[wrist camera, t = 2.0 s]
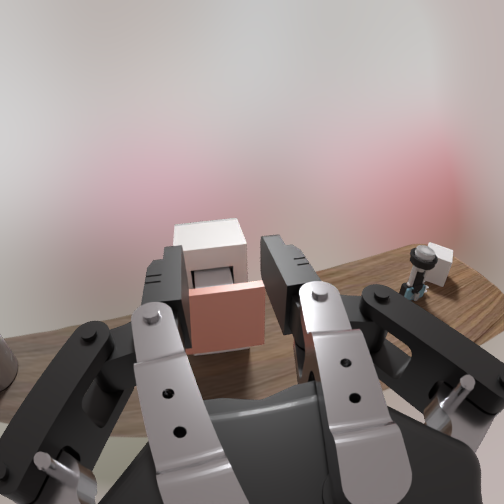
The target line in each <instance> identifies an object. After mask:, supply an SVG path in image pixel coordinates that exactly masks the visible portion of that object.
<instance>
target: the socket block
mask: <svg viewBox="0 0 504 504" xmlns="http://www.w3.org/2000/svg"><path fill="white" fill-rule="evenodd" d="M178 245H182V247H183V253H184V260H185V266H186V272H187V278H188V286H189V289H195V274H194V270H202V269H210V268H219V267H227V266H229V268H230V272H231V276H232V280H233V284H237V283H245V282H248V272H247V243H246V241H245V238H244V235H243V233H242V230H241V228H240V225H239V222H238V220H237V218H231V219H223V220H212V221H204V222H195V223H186V224H177V225H175V229H174V241H173V246H178ZM249 348H250V347H243V348H236V349H229V350H222V351H214V352H206V353H198V354H194V356H197V355H206V354H214V353H222V352H229V351H236V350H243V349H249Z"/></svg>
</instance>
